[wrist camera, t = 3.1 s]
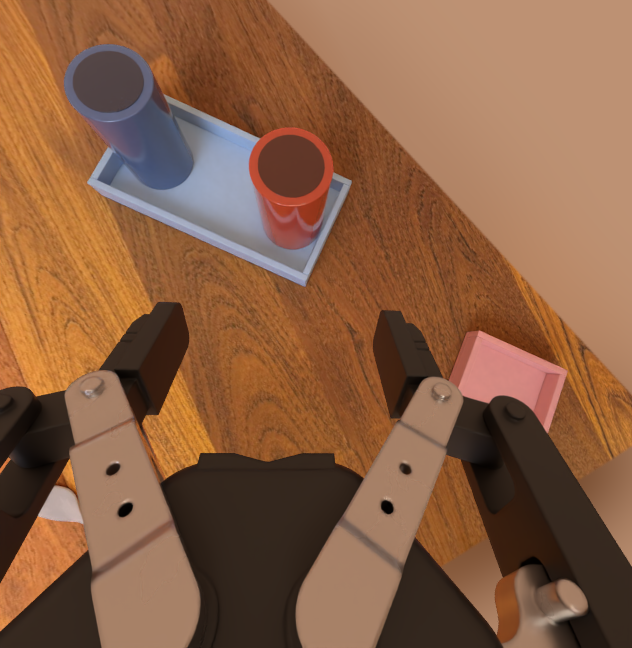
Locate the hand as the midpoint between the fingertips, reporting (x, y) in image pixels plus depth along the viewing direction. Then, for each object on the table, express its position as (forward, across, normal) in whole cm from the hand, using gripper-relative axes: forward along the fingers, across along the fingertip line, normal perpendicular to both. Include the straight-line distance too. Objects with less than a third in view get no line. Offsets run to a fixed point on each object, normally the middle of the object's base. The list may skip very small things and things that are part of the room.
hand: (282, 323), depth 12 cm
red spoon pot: (+18, 0, +2) cm, 18 cm away
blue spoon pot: (+22, +12, -1) cm, 25 cm away
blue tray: (+20, +6, +1) cm, 21 cm away
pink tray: (+7, -19, +14) cm, 24 cm away
